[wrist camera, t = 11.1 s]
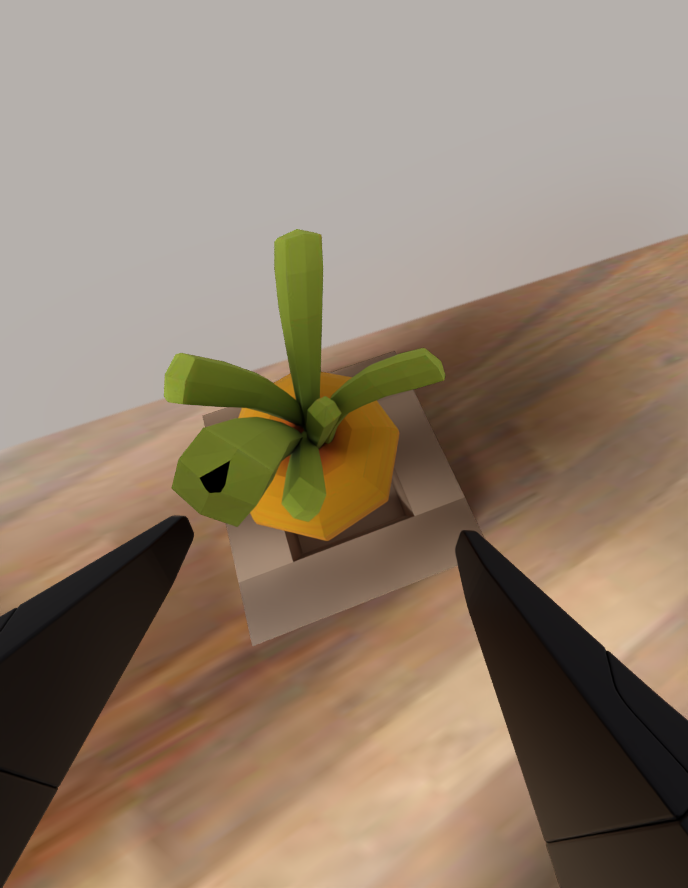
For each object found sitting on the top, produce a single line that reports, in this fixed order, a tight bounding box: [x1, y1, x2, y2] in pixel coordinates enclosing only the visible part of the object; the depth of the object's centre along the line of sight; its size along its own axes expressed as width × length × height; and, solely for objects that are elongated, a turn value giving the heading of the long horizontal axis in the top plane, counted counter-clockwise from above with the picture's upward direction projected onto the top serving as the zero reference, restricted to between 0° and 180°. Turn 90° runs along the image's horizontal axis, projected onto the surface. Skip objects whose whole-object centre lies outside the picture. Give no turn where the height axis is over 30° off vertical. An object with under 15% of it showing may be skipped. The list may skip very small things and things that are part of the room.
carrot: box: [164, 229, 445, 541], centre depth 10 cm, size 5×5×15 cm
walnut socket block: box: [203, 351, 485, 646], centre depth 16 cm, size 13×13×4 cm
